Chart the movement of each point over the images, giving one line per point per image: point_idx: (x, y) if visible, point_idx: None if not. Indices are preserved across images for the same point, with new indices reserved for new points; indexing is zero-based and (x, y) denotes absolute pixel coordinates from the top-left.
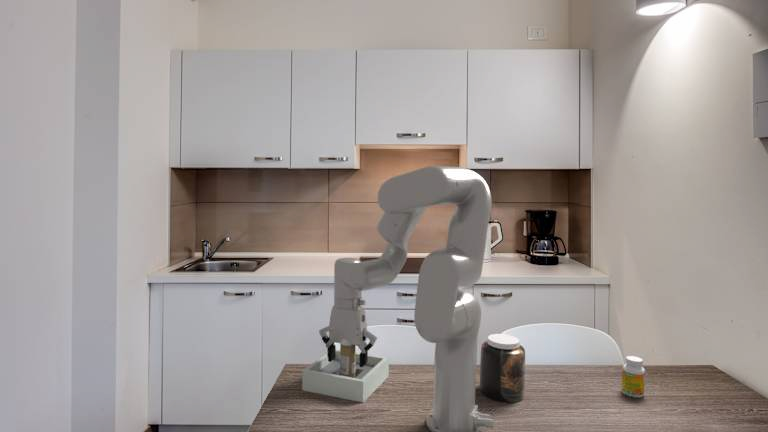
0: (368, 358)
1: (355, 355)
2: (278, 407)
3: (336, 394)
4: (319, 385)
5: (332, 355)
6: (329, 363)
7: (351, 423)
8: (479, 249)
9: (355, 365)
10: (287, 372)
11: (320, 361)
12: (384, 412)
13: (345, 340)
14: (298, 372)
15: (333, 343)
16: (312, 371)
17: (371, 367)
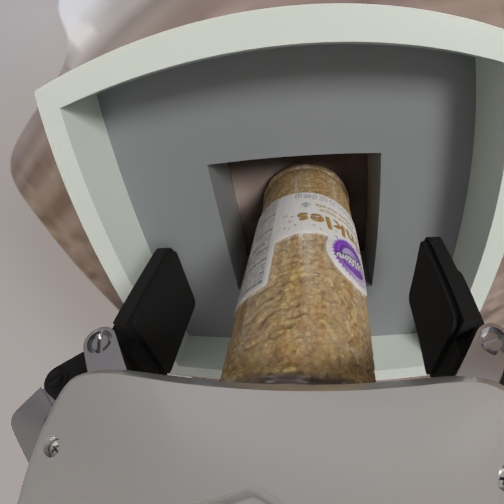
0: (375, 43)
1: (363, 293)
2: (219, 380)
3: None
4: None
5: (178, 310)
6: (123, 172)
7: (416, 377)
8: None
9: (359, 250)
10: (48, 230)
11: None
12: (489, 321)
13: None
14: (64, 212)
15: (128, 358)
16: (205, 373)
17: (411, 90)
